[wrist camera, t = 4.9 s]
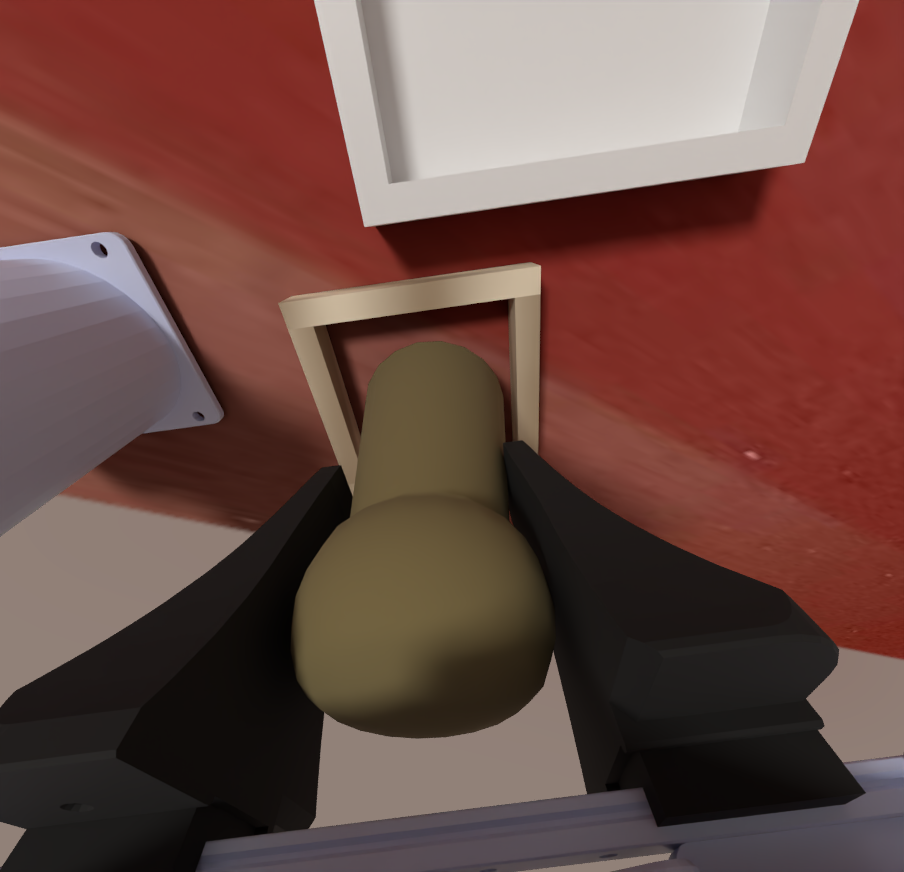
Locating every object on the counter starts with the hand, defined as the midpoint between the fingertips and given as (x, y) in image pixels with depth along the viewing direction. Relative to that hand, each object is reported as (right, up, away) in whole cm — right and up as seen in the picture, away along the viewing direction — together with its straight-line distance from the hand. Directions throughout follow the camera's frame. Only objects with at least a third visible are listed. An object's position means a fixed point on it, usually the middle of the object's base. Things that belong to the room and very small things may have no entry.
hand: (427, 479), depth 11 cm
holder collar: (0, +4, +6) cm, 7 cm away
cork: (0, +3, +4) cm, 5 cm away
